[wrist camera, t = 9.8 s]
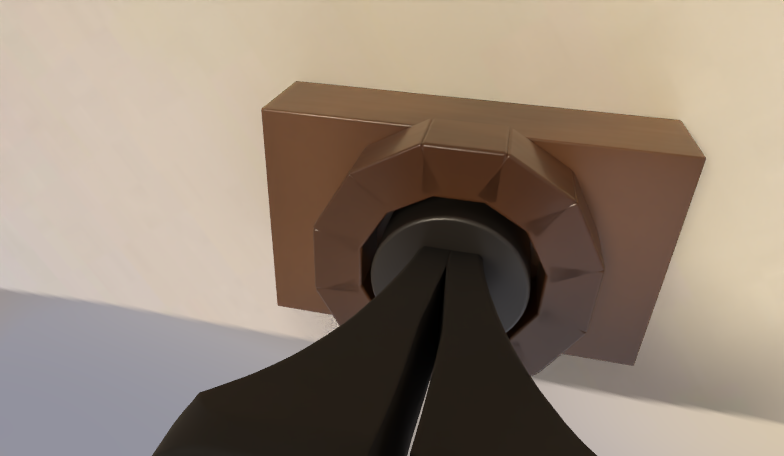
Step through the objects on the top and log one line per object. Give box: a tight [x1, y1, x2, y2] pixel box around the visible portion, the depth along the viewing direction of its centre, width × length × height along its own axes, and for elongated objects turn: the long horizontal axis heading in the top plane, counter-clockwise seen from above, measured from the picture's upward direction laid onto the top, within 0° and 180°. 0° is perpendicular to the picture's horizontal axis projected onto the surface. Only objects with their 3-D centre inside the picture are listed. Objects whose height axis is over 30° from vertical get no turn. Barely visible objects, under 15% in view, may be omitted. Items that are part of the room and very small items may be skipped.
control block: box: [262, 81, 706, 380], centre depth 15 cm, size 10×6×4 cm, turn 88°
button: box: [371, 196, 531, 332], centre depth 13 cm, size 4×4×2 cm
